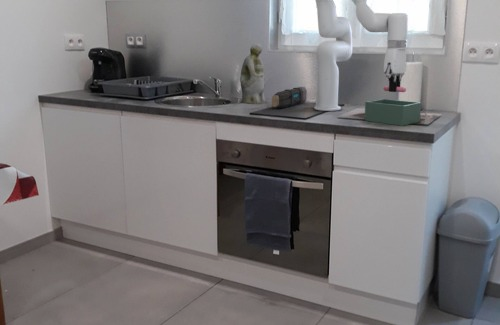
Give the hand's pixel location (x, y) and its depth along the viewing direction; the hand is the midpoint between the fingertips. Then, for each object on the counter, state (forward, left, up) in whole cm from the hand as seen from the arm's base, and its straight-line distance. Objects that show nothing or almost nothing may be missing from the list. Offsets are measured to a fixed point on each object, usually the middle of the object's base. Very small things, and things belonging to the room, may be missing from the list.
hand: (394, 91), depth 213 cm
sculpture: (-83, 0, -13) cm, 84 cm away
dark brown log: (-59, +2, -13) cm, 61 cm away
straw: (0, 0, 0) cm, 0 cm away
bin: (0, 0, -12) cm, 12 cm away
